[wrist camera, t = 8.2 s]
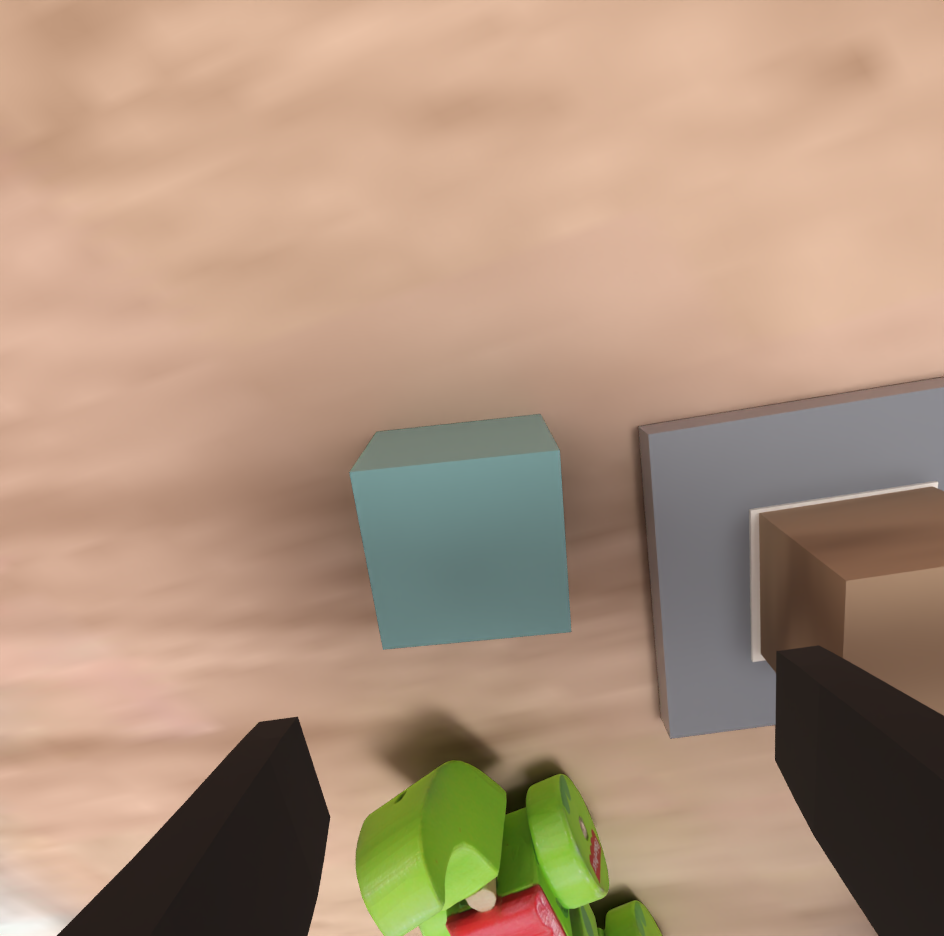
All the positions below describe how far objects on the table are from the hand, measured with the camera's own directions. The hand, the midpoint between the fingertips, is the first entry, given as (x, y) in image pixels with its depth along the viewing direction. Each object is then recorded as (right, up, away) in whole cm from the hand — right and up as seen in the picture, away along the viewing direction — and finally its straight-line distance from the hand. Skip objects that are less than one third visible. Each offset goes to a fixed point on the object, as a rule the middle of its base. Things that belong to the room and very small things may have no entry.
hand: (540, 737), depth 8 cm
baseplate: (+10, +1, +10) cm, 14 cm away
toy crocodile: (+2, -13, +15) cm, 20 cm away
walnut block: (+10, +1, +9) cm, 14 cm away
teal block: (-1, +3, +9) cm, 10 cm away
